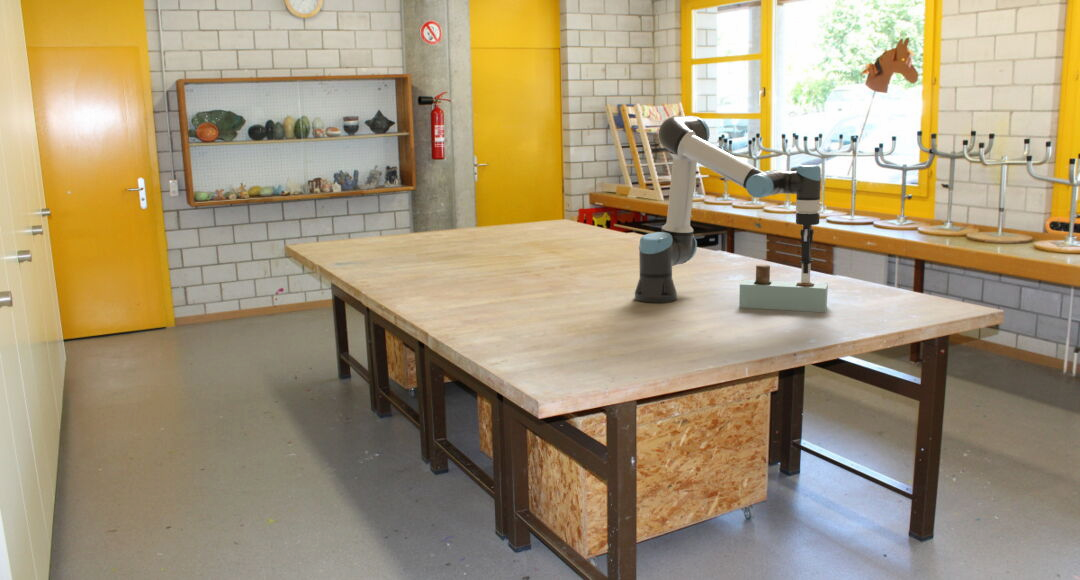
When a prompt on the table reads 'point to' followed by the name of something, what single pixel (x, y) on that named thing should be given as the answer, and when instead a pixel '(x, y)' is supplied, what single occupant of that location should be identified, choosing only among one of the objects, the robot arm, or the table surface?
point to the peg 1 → (763, 274)
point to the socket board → (783, 296)
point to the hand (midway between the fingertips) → (805, 282)
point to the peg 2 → (805, 284)
